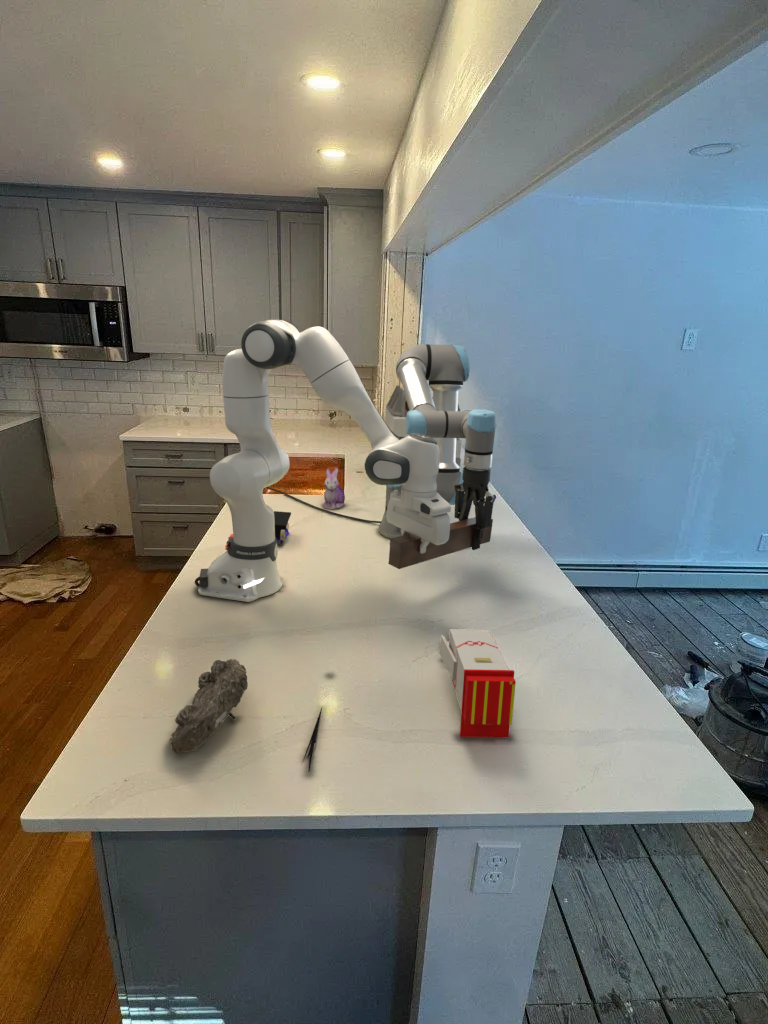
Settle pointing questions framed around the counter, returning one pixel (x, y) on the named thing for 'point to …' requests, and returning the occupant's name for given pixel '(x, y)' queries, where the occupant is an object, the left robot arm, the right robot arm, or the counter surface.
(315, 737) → the feather
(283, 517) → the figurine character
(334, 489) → the figurine
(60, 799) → the counter surface
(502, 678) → the toy
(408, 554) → the walnut rail
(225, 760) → the counter surface
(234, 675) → the fossil
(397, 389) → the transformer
